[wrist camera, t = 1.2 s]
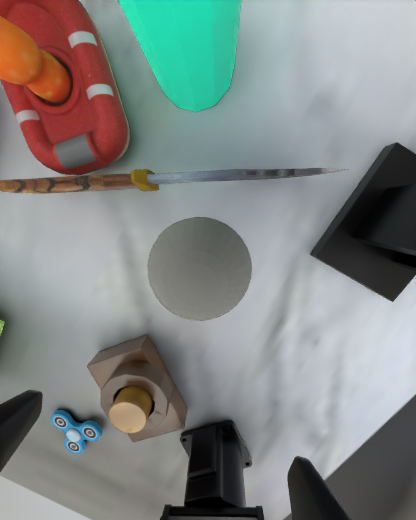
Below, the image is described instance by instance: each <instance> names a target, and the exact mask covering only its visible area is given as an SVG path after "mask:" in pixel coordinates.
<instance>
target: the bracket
mask: <svg viewBox="0 0 416 520" xmlns="http://www.w3.org/2000/svg"><path fill="white" fill-rule="evenodd" d="M310 255H312V256H313V257H315V258H317V259H319V260H320V261H322V262H324V263H325V264H327V265H329V266H331V267H332V268H334V269H336V270H338V271H339V272H341V273H343V274H345V275H346V276H348V277H350V278H351V279H353V280H355V281H357V282H358V283H360V284H362V285H364V286H365V287H367V288H369V289H370V290H372V291H374V292H376V293H377V294H379V295H381V296H383V297H384V298H386V299H388V300H390V301H392V302H393V301H394V300H395V299H396V298H397V296H398V295H399V294H400V293H401V292H402V291H403V289H404V288H405V287H406V286H407V285H408V284H409V282H410V281H411V280H412V279H413V278H414V277H415V275H416V154H415V153H413V152H412V151H410V150H408V149H407V148H405V147H404V146H402V145H401V144H399V143H397V142H396V143H394V144H391V145H388V146H386V147H385V148H384V149H383V151H382V152H381V153H380V155H379V156H378V158H377V159H376V161H375V162H374V163H373V165H372V166H371V168H370V169H369V171H368V172H367V173H366V175H365V176H364V178H363V179H362V181H361V182H360V183H359V185H358V186H357V188H356V189H355V191H354V192H353V193H352V195H351V196H350V198H349V199H348V201H347V202H346V204H345V205H344V206H343V208H342V209H341V211H340V212H339V214H338V215H337V216H336V218H335V219H334V221H333V222H332V224H331V225H330V226H329V228H328V229H327V231H326V232H325V234H324V235H323V236H322V238H321V239H320V241H319V242H318V244H317V245H316V246H315V248H314V249H313V251H312V252H311V254H310Z"/></svg>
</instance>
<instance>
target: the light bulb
mask: <svg viewBox="0 0 416 520" xmlns="http://www.w3.org/2000/svg"><path fill="white" fill-rule="evenodd" d="M251 272H252V265H251V257H250V254H249V252H248V249H247V247H246V245H245V243H244V242H243V240H242V238H241V237H240V236H239V235H238V234H237V233H236V232H235V231H234V230H233V229H232V228H230V227H229V226H228V225H226V224H224V223H222V222H220V221H218V220H215V219H211V218H206V217H194V218H188V219H184V220H182V221H179V222H176V223H174V224H173V225H171V226H170V227H168V228H167V229H166V230H165V231H164V232H163V233H162V234H161V235H159V237H158V238H157V240H156V241H155V243H154V245H153V247H152V250H151V252H150V255H149V260H148V277H149V282H150V286H151V288H152V290H153V292H154V294H155V296H156V297H157V299H158V300H159V301H160V303H161V304H162V305H163V306H164V307H165V308H166V309H168V310H169V311H171V312H172V313H174V314H175V315H178V316H180V317H182V318H185V319H190V320H200V321H202V320H210V319H213V318H216V317H220V316H222V315H224V314H225V313H227V312H229V311H230V310H231V309H233V308H234V307H235V306H236V305H237V304H238V303H239V302H240V300H241V299H242V298H243V297H244V295H245V293H246V291H247V289H248V286H249V283H250V279H251Z"/></svg>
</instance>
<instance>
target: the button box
mask: <svg viewBox="0 0 416 520" xmlns="http://www.w3.org/2000/svg"><path fill="white" fill-rule="evenodd" d="M87 368H88V369H89V371H90V372H91V374H92V376H93V377H94V379H95V381H96V382H97V384H98V386H99V387H100V389H101V407H102V409H103V411H104V412H105V414H106V415H107V417H108V419H109V411H110V409H111V407H112V405H113V403H114V401H115V400H116V398H117V396H118V394H119V392H120V391H121V390H122V389H123V388H125V387H127V386H137V387H141V388H142V389H144V390H145V391H147V392H148V393H150V395H151V397H152V401H153V403H152V407H151V410H150V413H149V416H148V419H147V422H146V424H145V426H144V428H143V429H141V430H140V431H138V432H135V433H128V435H129V437H130V438H131V440H132V441H133V442H136V441H140V440H143V439H147V438H151V437H154V436H158V435H161V434H165V433H169V432H172V431H176V430H179V429H183V428H184V426H185V420H186V414H187V407H186V405H185V404H184V402H183V400H182V398H181V396H180V394H179V392H178V390H177V388H176V386H175V384H174V382H173V381H172V379H171V377H170V375H169V373H168V371H167V369H166V367H165V365H164V363H163V361H162V359H161V358H160V356H159V354H158V352H157V350H156V348H155V346H154V344H153V342H152V340H151V338H150V336H149V335H145V336H142V337H139V338H136V339H134V340H131V341H128V342H125V343H122V344H120V345H117V346H114V347H111V348H108V349H105V350H103V351H100V352H98V353H97V355H96V356H95V357H94V358H93V359H92V361H91V362H90V363H89V364H88V365H87Z"/></svg>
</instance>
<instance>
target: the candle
mask: <svg viewBox="0 0 416 520" xmlns="http://www.w3.org/2000/svg"><path fill="white" fill-rule="evenodd" d="M118 1H119V3H120V5H121V7H122V9H123V11H124V13H125V15H126V17H127V19H128V21H129V23H130V25H131V27H132V29H133V31H134V34H135V36H136V38H137V40H138V42H139V44H140V46H141V48H142V50H143V52H144V54H145V56H146V58H147V60H148V62H149V64H150V66H151V68H152V71H153V73H154V75H155V77H156V79H157V81H158V83H159V85H160V87H161V89H162V91H163V93H164V94H165V95H166V96H167V97H168V98H169V99H170V100H171V101H172V102H173V103H174V104H175V105H176V106H177V107H178V108H182V109H186V110H190V111H194V112H199V111H201V110H204V109H207V108H210V107H212V106H215V105H216V104H217V103H218V102H219V100H220V99H221V98H222V97H223V96H224V94H225V93H226V92H227V91H228V89H229V88H230V84H231V79H232V75H233V70H234V66H235V57H236V47H237V37H238V28H239V18H240V8H241V0H118Z"/></svg>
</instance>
